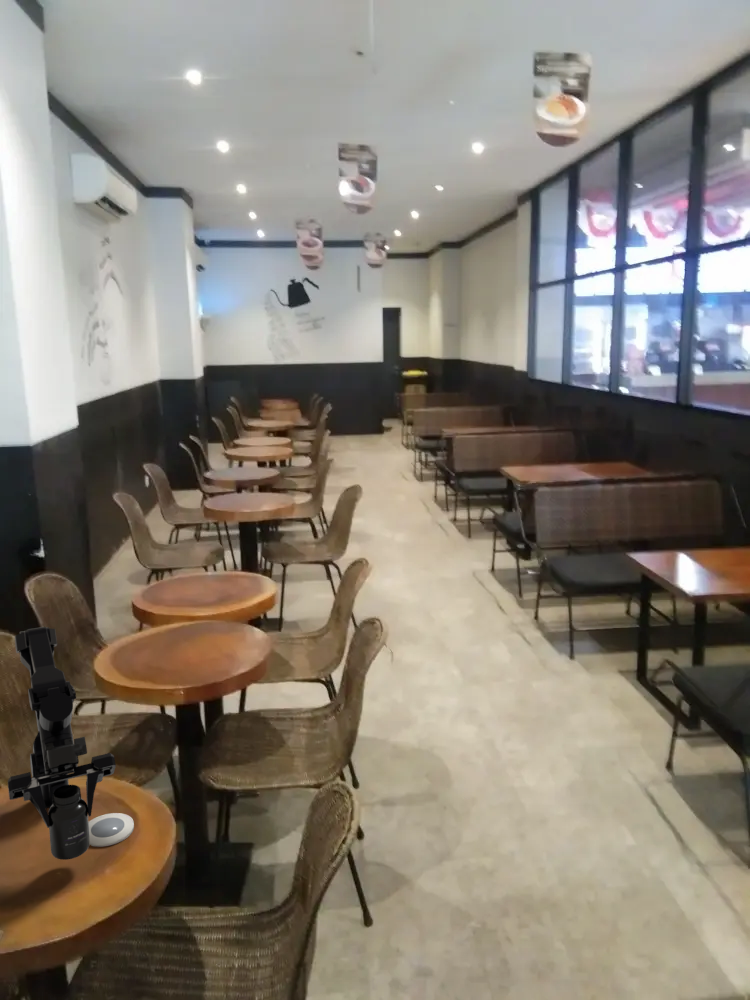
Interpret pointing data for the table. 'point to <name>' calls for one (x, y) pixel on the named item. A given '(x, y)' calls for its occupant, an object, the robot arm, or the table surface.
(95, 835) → the coaster
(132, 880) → the table surface
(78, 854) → the supplement bottle
